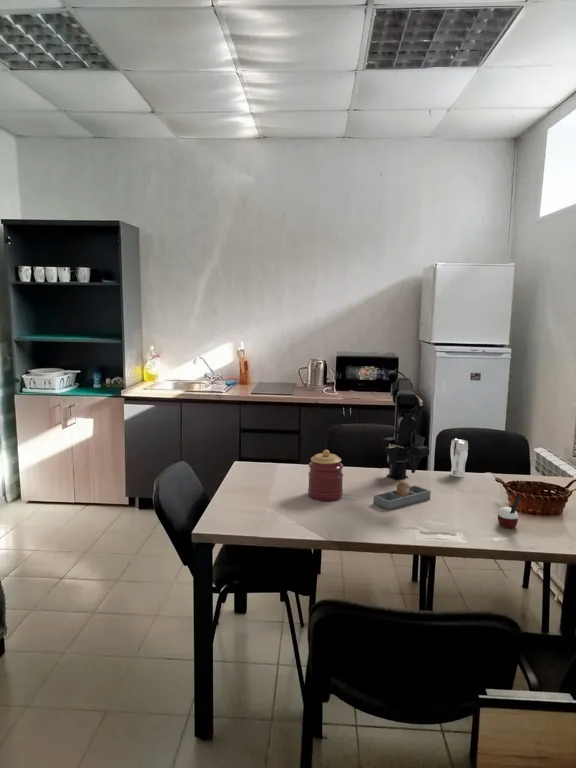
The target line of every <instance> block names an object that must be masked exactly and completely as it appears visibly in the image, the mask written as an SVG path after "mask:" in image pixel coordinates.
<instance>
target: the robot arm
mask: <svg viewBox="0 0 576 768" xmlns="http://www.w3.org/2000/svg"><path fill="white" fill-rule="evenodd" d="M390 396H391V397H392V402H393V403H394V406H395V415H394V433H393V434H394V435H393V437H392V436H391V437H389V436H388V437H385V438H382V439H381V440H380V441H381V442H380V446H381V447H382V448H383V450H384V451H385V452H386V454H387V464H389V473H388V474H386V477H387V478H388V477H389V478H390V479H394V480H399V481H400V480H403V479H408V478H409V476H408V475H407V467H406V465H407V466H408V465H409V464H410V471H411V473H412V474H414V473H416V471H417V468H418V465H419V463H420V462H421V460H422V459H423V458H425V457H427V456H429V455H430V448H429V447H428V446H426V445H424V444H425V443H424V442H425V439H426V437H424V436H421V435H418V434H417V431H416V430H417V425H418V424H417V422H416V419H415V415H419V412H420V410H421V408H420V407H421V405H420V399H419V396H417V394H416V392H415V391H414V384H413V382H411V378H409V377H397V378H396V380H395V381H394V382H392V383H391V387H390Z"/></svg>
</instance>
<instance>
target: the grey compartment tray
mask: <svg viewBox="0 0 576 768" xmlns="http://www.w3.org/2000/svg"><path fill="white" fill-rule="evenodd" d="M431 491H432V490H430V489H427V488H424V487H422V486H418V485H415V484H413V485H409V496H405V497H401V496H399V495H396V493H397V489H394V490H389V491H385V492H382V493H378V494H374V495H373V501H372V503H373V505H375V506H377V507H379V508H382V509H384V510H386V511H391V510H395V509H398V508H402V507H405V506H406V507H407V506H409V505H413V504H417V503H420V502H424V501H428V500H431V493H432V492H431Z"/></svg>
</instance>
